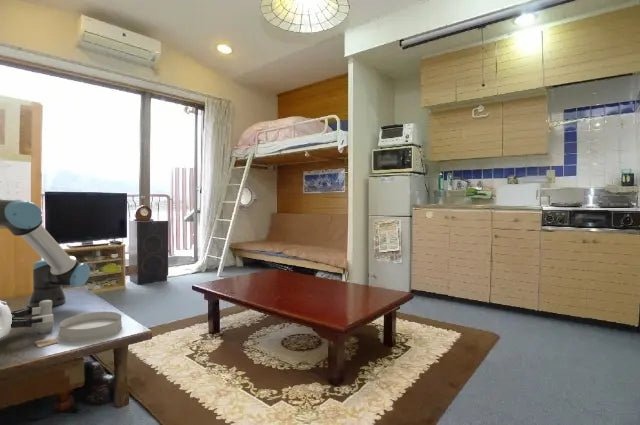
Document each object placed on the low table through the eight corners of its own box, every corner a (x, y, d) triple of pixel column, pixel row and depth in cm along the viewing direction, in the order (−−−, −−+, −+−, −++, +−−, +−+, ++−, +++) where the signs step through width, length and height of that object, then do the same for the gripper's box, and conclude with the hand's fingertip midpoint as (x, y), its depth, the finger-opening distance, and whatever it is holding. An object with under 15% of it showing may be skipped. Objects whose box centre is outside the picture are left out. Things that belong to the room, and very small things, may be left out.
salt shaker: (50, 328, 144) (51, 297, 144) (56, 331, 141) (57, 300, 141) (33, 332, 139) (34, 300, 139) (39, 335, 136) (40, 303, 136)
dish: (90, 320, 156) (90, 309, 155) (133, 324, 152) (133, 313, 152) (43, 338, 134) (44, 326, 134) (93, 344, 130) (93, 331, 130)
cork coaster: (34, 343, 129) (34, 341, 129) (54, 338, 134) (54, 337, 133) (38, 347, 125) (38, 346, 125) (58, 343, 130) (58, 341, 130)
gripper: (-16, 323, 137) (51, 313, 151) (-24, 344, 118) (53, 331, 132) (-16, 304, 137) (51, 297, 150) (-24, 323, 118) (54, 312, 131)
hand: (52, 313), depth 141 cm, fingers open, 13 cm apart
